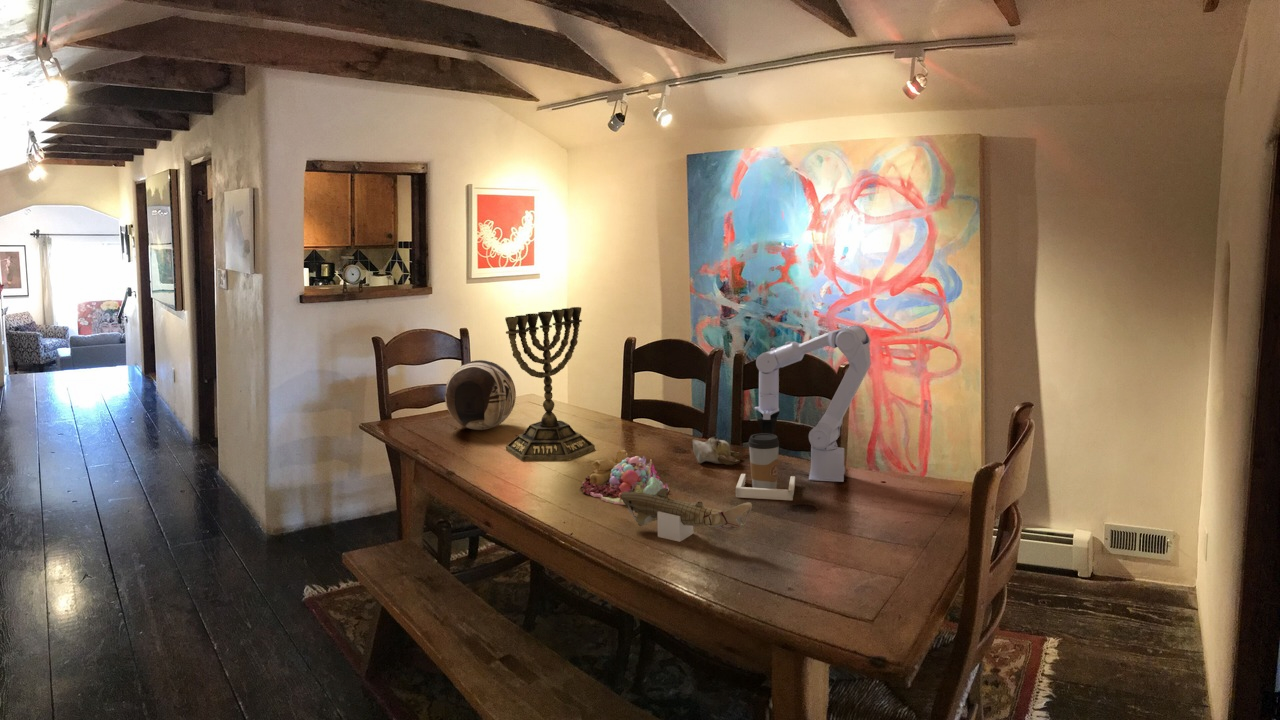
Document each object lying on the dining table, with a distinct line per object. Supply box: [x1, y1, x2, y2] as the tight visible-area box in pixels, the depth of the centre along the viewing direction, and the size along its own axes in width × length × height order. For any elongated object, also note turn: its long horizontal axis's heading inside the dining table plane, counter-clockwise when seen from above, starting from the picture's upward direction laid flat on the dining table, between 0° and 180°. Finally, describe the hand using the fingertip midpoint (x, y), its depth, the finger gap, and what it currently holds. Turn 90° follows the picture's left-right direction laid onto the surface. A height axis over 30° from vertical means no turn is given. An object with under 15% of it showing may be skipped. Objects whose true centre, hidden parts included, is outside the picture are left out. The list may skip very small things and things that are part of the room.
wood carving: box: [620, 488, 753, 543], centre depth 191 cm, size 9×35×11 cm, turn 55°
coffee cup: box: [747, 432, 780, 489], centre depth 222 cm, size 8×8×15 cm
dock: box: [735, 473, 796, 501], centre depth 223 cm, size 15×13×2 cm
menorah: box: [505, 306, 596, 462], centre depth 265 cm, size 36×25×45 cm
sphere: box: [444, 359, 517, 431], centre depth 297 cm, size 25×25×25 cm
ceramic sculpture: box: [692, 435, 743, 466], centre depth 250 cm, size 11×9×15 cm
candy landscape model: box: [579, 449, 670, 506], centre depth 227 cm, size 25×24×9 cm
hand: (768, 438), depth 241 cm, fingers open, 7 cm apart
